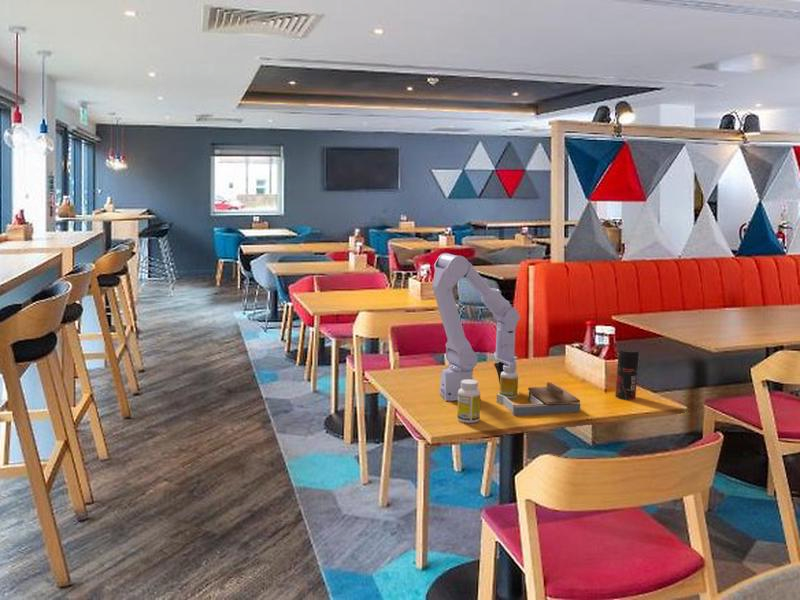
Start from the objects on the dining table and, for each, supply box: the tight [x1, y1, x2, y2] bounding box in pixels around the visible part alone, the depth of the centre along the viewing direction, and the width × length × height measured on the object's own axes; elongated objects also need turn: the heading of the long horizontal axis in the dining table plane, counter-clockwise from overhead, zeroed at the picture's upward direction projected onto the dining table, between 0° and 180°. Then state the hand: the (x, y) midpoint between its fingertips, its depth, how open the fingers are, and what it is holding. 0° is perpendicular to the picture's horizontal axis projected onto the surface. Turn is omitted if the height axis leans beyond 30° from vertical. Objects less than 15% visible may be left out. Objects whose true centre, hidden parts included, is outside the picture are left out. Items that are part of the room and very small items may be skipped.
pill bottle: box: [457, 379, 481, 424], centre depth 198 cm, size 6×6×11 cm
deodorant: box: [614, 347, 640, 401], centre depth 222 cm, size 6×6×15 cm
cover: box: [527, 382, 581, 405], centre depth 212 cm, size 10×14×3 cm
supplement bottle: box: [499, 364, 519, 399], centre depth 221 cm, size 5×5×10 cm
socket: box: [496, 390, 581, 417], centre depth 212 cm, size 21×14×2 cm
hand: (503, 385), depth 226 cm, fingers closed
